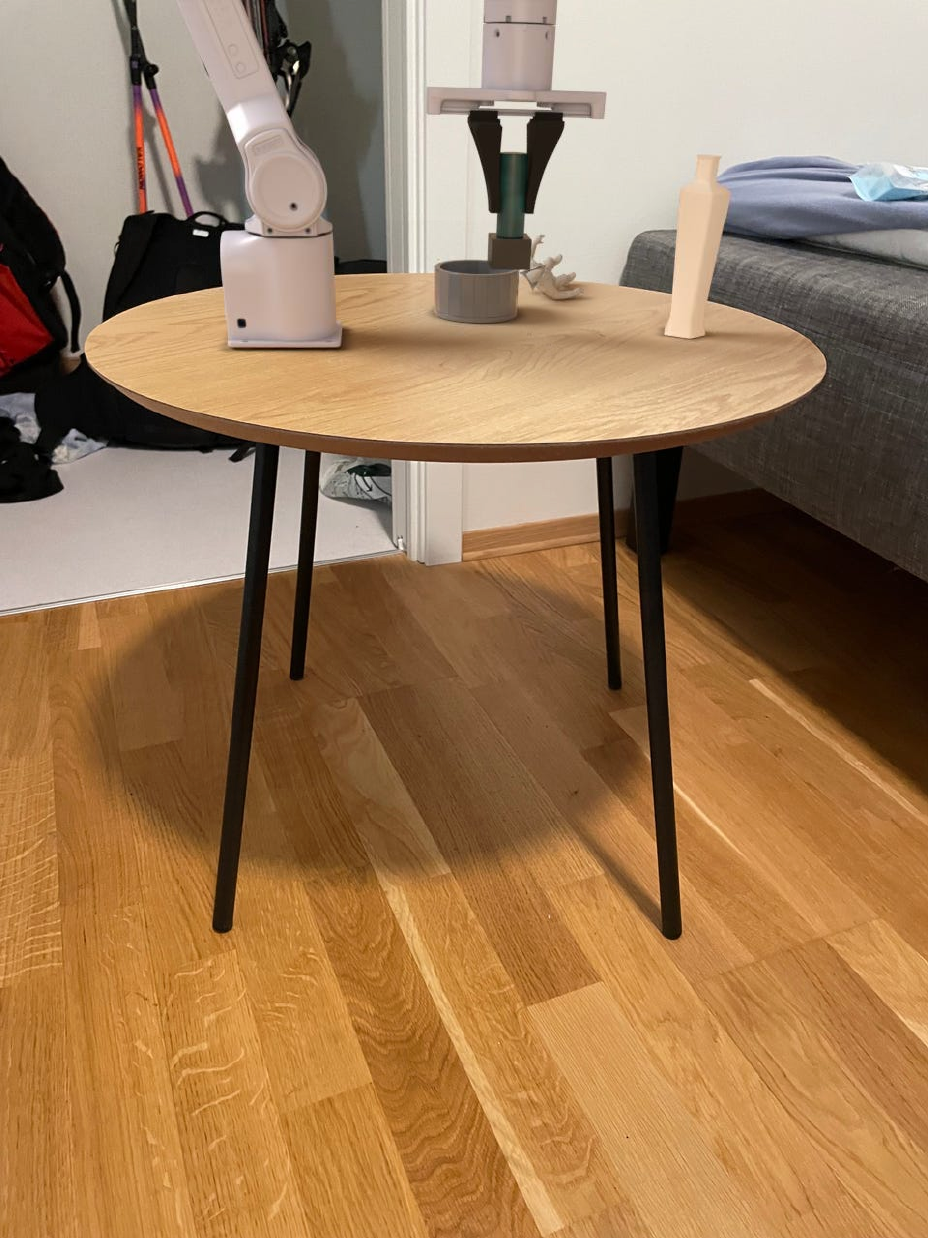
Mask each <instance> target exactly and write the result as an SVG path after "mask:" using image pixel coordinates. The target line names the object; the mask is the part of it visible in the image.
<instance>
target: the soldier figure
mask: <svg viewBox="0 0 928 1238" xmlns="http://www.w3.org/2000/svg"><path fill="white" fill-rule="evenodd" d="M545 237H546V235H545V234H539V235H537V236H535V238H534V240H532V245H531V262H530V270H521V271H519V275H521V277H523V278H524V279H525V280H526V281H527V282H528V284H529V286H530V288H531V291H532V292H534V290H535V289H537V290H539V292H540V293H542V294H545V295H547V296H549V297H551V298H552V300H565V299H571V298H573V297H577V298H578V297H580V295H582V294H585V290H584V289H583V288H581V287H577V288H575V289H573V290H560V289H561V288H562V287H568V286H569V284H570V283H571V282H573V281H574V280H575V278H576V276H577V274H576V272H574V271H572V272H570V273H569V274H566V273H561V274H560V275H558V276H555V275H554V274H553V272H552V270H553V269H554V268H555V267H556V266H557V265H559V264H561V262H562V260H563V258H564V257H563V255H562V253H559V254H557V255H556V256H555V257H552V256H548V257H546V259H545V260H543V261H542V263H541V262H537V261H535V260H534V258H535V255H536V250H537V246H538V245H540V244H541V245H542V244H544V241H542V239H543V238H545Z"/></svg>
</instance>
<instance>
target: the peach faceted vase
mask: <svg viewBox="0 0 928 1238" xmlns="http://www.w3.org/2000/svg"><path fill="white" fill-rule="evenodd" d="M696 158H697V161H696V168H695V175H694V179H693V180H692V181H690V182H688V183H687V184H685V185H683V186H682V187H680V189H679V196H678V197H679V199H678V209H677V210H678V212H677V222H676V223H677V224H676V235H675V249H674V250H675V251H674V252H675V253H674V263H673V277H672V288H671V289H672V291H671V302H670V303H671V304H670V314H669V316H668V319H667V322H666V325H665V329H664V335H665V336H669V337H675V338H682V339H695V338H699V337H703V336H706V331H705V321H704V316H705V311H706V307H707V303H708V300H709V299H708V298H709V293H710V290H711V285H712V281H713V276H714V272H715V267H716V263H717V258H718V255H719V249H720V245H721V240H722V237H723V232H724V229H725V228H724V227H725V222H726V219H727V215H728V214H727V213H728V209H729V205H730V201H731V197H732V191H731V190H729V189H728V188H726V187H725V186H724V185H722V184H721V183H719V182H718V181H717V179H718V173H719V165H720V160H721V159H722V156H721V155H714V154H696Z"/></svg>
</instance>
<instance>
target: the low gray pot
mask: <svg viewBox="0 0 928 1238" xmlns="http://www.w3.org/2000/svg"><path fill="white" fill-rule="evenodd" d="M487 260H488V259H454V260H446V261H442V262H438V263H436V264H434V267H433V270H434V271H433V272H434V274H433V275H434V276H433V309H434V311H433V312H434V315H435V316H436V317H437V318H441V319H443V320H447V321H451V322H458V323H466V324H467V323H469V324H495V323H502V322H507V321H511V320H513V319H515V318H516V317H517V316H518V314H517V313H518V307H519V290H520V289H519V286H520V270H504V269H491V267H490V266H489V264H488V262H487Z"/></svg>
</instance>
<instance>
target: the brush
mask: <svg viewBox="0 0 928 1238" xmlns="http://www.w3.org/2000/svg"><path fill="white" fill-rule="evenodd" d="M527 167H528V153H526V152H524V151H523V152H522V151H501V152H500V167H499V185H500V207H499V213H496V227H495V228H496V229H495V230H496V231H495V232H488V236H487V238H488V239H487V259H486V260H487V262H488V264H489V266H490V267H491V269H504V270H519V271H524V270H530V262H531V245H532V243H533V240H532V238H531V237H530V236H529V234H528V233H526V232H525V222H526V221H525V218H526V214H525V199H526V185H527Z"/></svg>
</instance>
